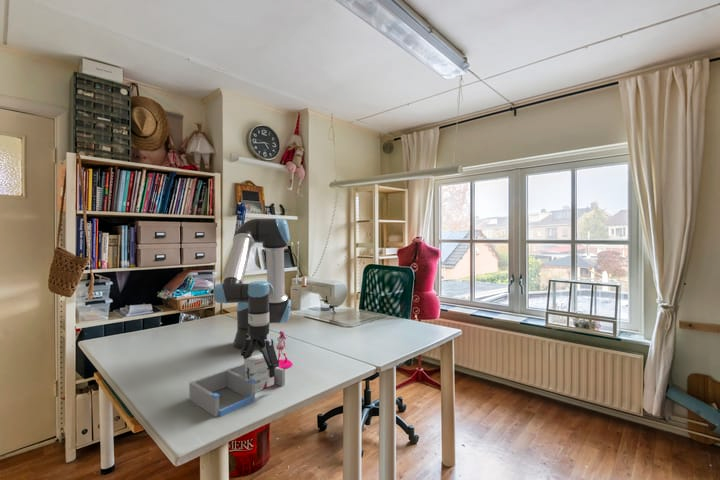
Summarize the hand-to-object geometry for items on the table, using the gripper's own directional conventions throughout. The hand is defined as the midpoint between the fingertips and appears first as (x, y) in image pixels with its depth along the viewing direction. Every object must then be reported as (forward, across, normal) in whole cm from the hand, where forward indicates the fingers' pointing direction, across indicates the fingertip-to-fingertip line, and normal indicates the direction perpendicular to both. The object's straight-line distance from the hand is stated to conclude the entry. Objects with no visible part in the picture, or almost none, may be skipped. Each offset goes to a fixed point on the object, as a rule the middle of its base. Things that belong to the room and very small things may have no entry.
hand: (259, 380), depth 126 cm
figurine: (+3, -10, +18) cm, 21 cm away
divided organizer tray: (+3, -2, -7) cm, 7 cm away
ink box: (+3, 0, 0) cm, 3 cm away
